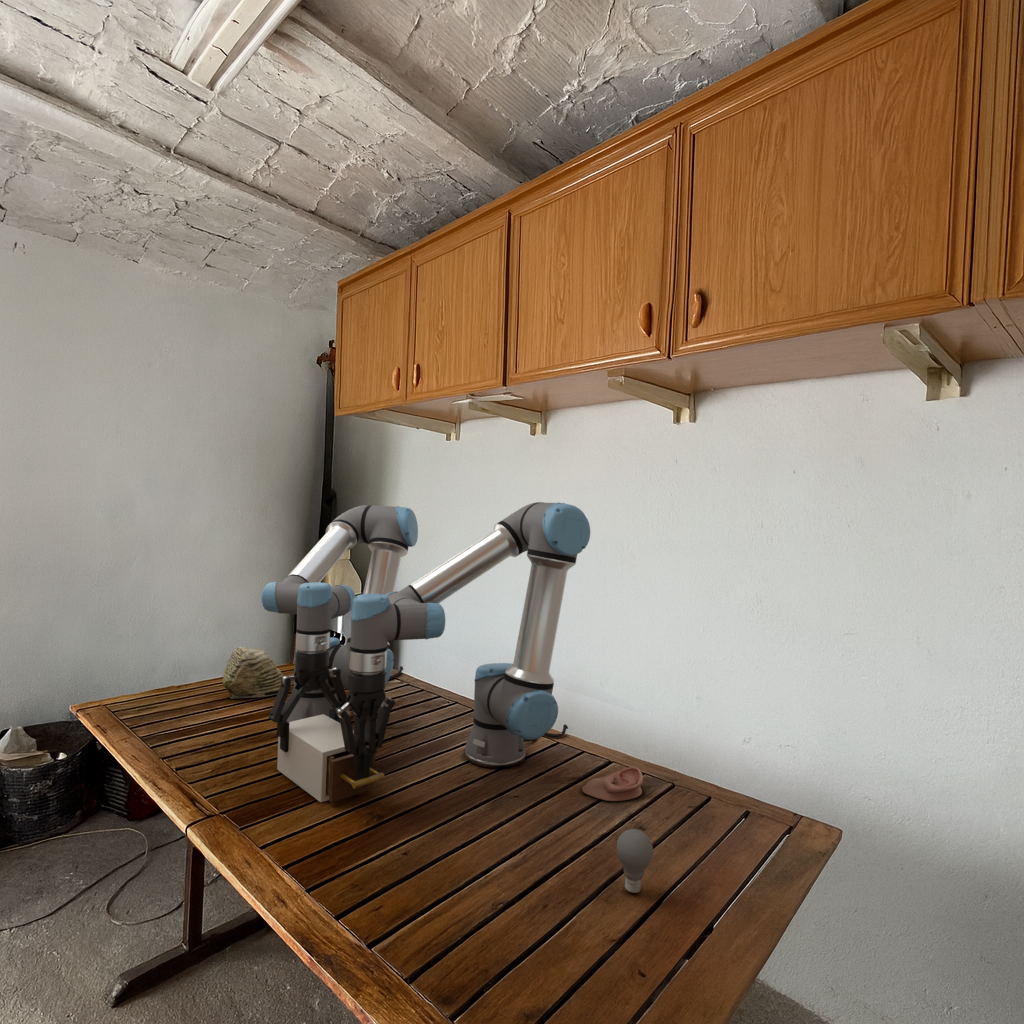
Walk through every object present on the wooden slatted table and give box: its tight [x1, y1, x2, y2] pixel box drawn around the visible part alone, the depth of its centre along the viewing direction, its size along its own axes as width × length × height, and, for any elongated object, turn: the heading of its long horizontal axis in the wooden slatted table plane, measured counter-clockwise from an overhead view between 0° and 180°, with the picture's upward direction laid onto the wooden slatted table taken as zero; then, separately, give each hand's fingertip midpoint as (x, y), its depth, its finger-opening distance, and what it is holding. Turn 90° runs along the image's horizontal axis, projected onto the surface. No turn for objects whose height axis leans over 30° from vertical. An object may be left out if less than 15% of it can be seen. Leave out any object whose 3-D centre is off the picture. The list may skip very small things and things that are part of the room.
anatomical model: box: [581, 766, 644, 802], centre depth 142 cm, size 13×4×12 cm
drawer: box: [326, 749, 386, 804], centre depth 138 cm, size 25×10×8 cm, turn 45°
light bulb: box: [615, 828, 654, 894], centre depth 106 cm, size 6×6×10 cm
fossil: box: [222, 646, 284, 699], centre depth 198 cm, size 9×18×15 cm, turn 132°
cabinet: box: [276, 714, 354, 803], centre depth 142 cm, size 21×11×10 cm, turn 45°
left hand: (308, 743), depth 147 cm, fingers closed on cabinet, 11 cm apart
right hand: (362, 783), depth 130 cm, fingers closed
